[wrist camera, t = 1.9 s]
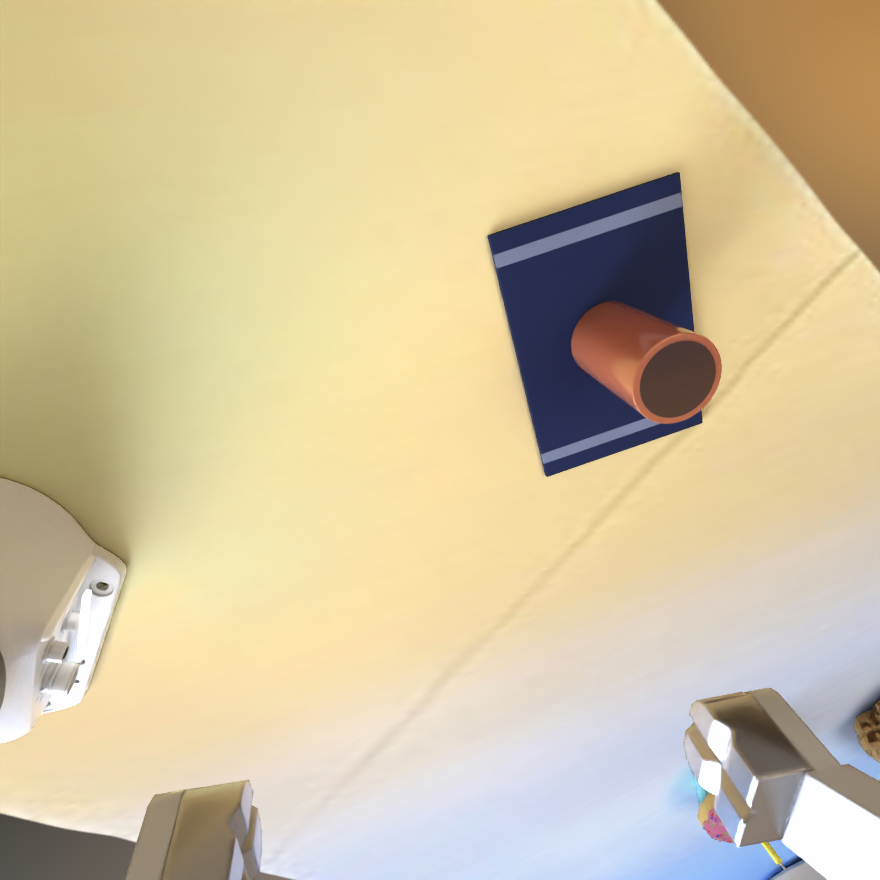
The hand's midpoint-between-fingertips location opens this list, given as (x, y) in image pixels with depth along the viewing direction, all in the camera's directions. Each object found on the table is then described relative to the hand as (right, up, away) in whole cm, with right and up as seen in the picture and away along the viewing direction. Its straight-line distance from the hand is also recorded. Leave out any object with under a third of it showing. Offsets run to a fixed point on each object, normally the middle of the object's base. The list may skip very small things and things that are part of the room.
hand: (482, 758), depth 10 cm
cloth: (+12, +14, +34) cm, 38 cm away
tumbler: (+12, +14, +33) cm, 38 cm away
